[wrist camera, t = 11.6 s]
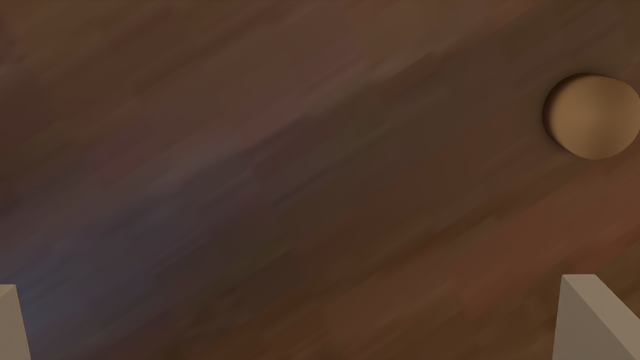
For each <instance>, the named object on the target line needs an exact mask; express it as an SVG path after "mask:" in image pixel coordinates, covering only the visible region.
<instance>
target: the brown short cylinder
mask: <svg viewBox="0 0 640 360" xmlns="http://www.w3.org/2000/svg"><path fill="white" fill-rule="evenodd" d="M542 119H543V125H544V127H545V130H546V132H547V133H548V135H549V136H550V137H551V138H552V139H553V140H554V141H555V142H556V143H558V144H559V145H561V146H563V147H564V148H566V149H567V150H569V151H571V152H572V153H574V154H576V155H577V156H580V157H582V158H586V159H593V160H595V159H605V158H608V157H611V156H614V155H616V154H618V153H619V152H621V151H622V150H624V149H625V148H626V147H627V146H629V145H630V143H631V142H632V141H633V140H634V138H635V137H636V136H637V134H638V132H639V130H640V98H639V96H638V95H637V93H636V92H635V91H634V90H633V88H631V87H630V86H629V85H628V84H626V83H624V82H622V81H619V80H616V79H612V78H608V77H605V76H601V75H597V74H593V73H580V74H575V75H572V76H570V77H567V78H565V79H564V80H562V81H561V82H559V83H558V84H557V85H556V86H555V87H554V88H553V89H552V90H551V91H550V93H549V95H548V96H547V98H546V100H545V103H544V106H543V112H542Z"/></svg>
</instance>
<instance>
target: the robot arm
mask: <svg viewBox="0 0 640 360" xmlns="http://www.w3.org/2000/svg"><path fill="white" fill-rule="evenodd" d="M0 360H31V357H30V352H29V348H28V343H27V338H26V333H25V328H24V324H23V319H22V314H21V309H20V305H19V300H18V295H17V290H16V285H0ZM552 360H640V320H639V319H638V318H637V317H636V316H635V315H634V314H633V313H632V312H631V311H630V310H629V308H628V307H627V306H626V305H625V304H624V303H623V302H622V301H621V300H620V299H619V298H618V297H617V296H616V295H615V294H614V293H613V292H612V291H611V290H610V289H609V288H608V287H607V286H606V285H605V284H604V283H603V282H602V281H601V280H600V279H599V278H598V277H597V276H596V275H595V274H580V275H562V280H561V288H560V297H559V306H558V314H557V323H556V332H555V340H554V349H553V358H552Z"/></svg>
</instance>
